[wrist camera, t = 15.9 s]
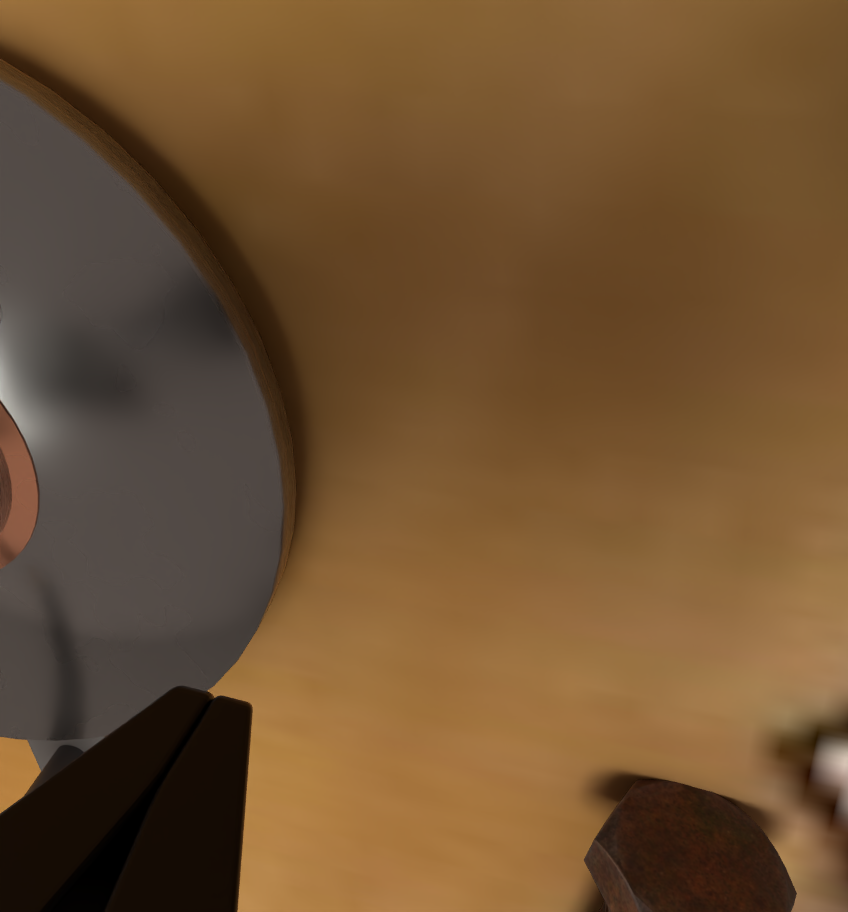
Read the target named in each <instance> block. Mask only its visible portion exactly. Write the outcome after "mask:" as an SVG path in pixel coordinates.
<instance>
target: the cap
mask: <svg viewBox="0 0 848 912" xmlns="http://www.w3.org/2000/svg"><path fill="white" fill-rule="evenodd" d="M11 504H12V484H11V479H10V474H9V469H8V466H7V463H6V460H5V457H4V454H3V452H2V450H1V447H0V534H1V533H2V531H3V529H4V527H5V525H6V523H7V521H8V518H9V515H10V511H11Z"/></svg>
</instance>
